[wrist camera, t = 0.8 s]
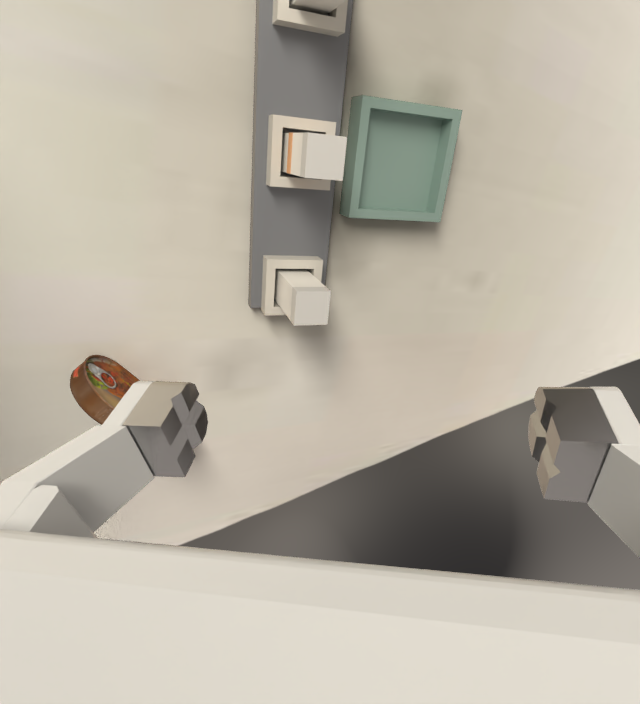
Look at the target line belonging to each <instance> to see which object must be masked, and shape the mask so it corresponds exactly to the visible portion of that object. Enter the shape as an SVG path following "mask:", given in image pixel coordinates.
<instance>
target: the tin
mask: <svg viewBox="0 0 640 704" xmlns="http://www.w3.org/2000/svg"><path fill="white" fill-rule="evenodd" d="M138 381H140V380H138V379H137V378H136V377H135V376H133V375H132V374H131V373H130V372H128V371H127V370H126V369H125V368H123V367H122V366H121V365H119V364H118V363H117V362H115V361H113V360H111V359H109V358H107V357H104V356H101V355H92V356H89V357H88V358H87V359H86V360H85V362H83V363H82V364H81V365H80V366H78V367H77V368H76V369H75V370H74V371H73V373H72V375H71V379H70V388H71V391H72V394H73V396H74V398H75V400H76V401H77V403H78V404H79V406H80V407H81V408H82V409H83V410H84V411H85V412H86V413H87V414H88V415H89V416H90V417H91V418H93V419H94V420H95V421H97V422H98V423H100V424H101V425H102V424H103V423H104V422H105V420H106V419H107V418H108V416H109V415H110V414H111V412H112V411H113V410H114V408H115V407H116V406H117V404H118V403H119V402H120V400H121V399H122V398H123V396H124V395H125V394H126V392H127V391H128V390H129V388H130V387H131V386H132V384H133V383H136V382H138Z"/></svg>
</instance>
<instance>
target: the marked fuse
mask: <svg viewBox="0 0 640 704" xmlns="http://www.w3.org/2000/svg"><path fill="white" fill-rule="evenodd" d="M346 143H347V137H343V136H335V135H326V134H317V133H308V132H305V133H293V132H292V133H282V152H281V171H282V172H286V173H289V174H293V175H297V176H300V177H304V178H314V179H326V180H339V181H343V172H344V162H345V153H346Z"/></svg>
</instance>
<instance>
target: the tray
mask: <svg viewBox="0 0 640 704" xmlns="http://www.w3.org/2000/svg"><path fill="white" fill-rule="evenodd" d="M461 115H462V110H458V109H451V108H445V107H438V106H431V105H425V104H418V103H411V102H405V101H398V100H391V99H385V98H378V97H372V96H365V95H362V96H356V97H352V100H351V109H350V119H349V128H348V138H347V147H346V157H345V166H344V176H343V185H342V194H341V204H340V213H339V214H342V215H344V216H346V217H349V218H367V219H386V220H406V221H426V222H440V221H441V216H442V211H443V206H444V201H445V196H446V191H447V186H448V181H449V176H450V170H451V165H452V160H453V155H454V150H455V145H456V140H457V135H458V130H459V125H460V120H461Z"/></svg>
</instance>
